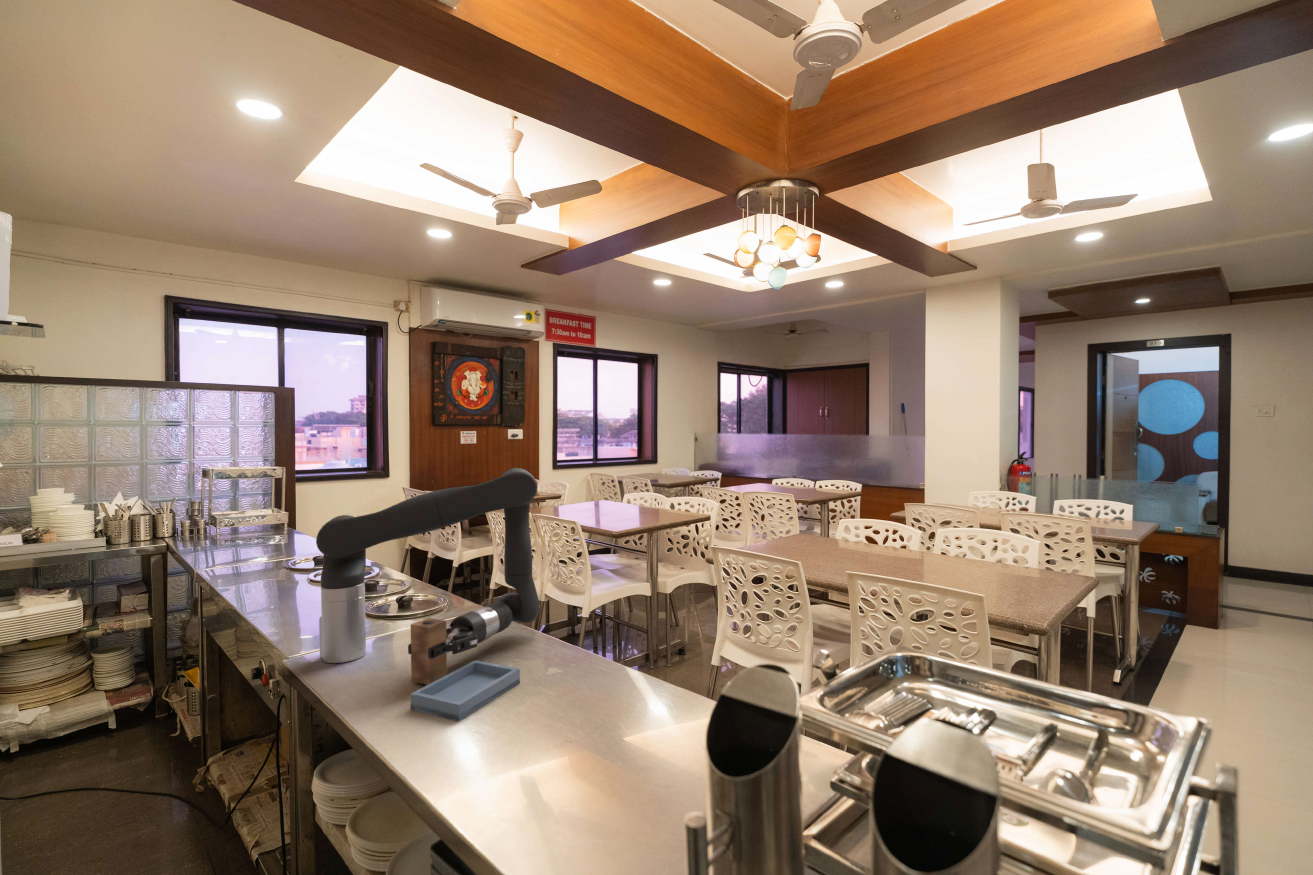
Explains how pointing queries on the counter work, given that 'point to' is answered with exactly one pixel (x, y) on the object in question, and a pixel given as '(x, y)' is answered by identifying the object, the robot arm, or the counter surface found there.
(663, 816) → the counter surface
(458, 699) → the slate tray
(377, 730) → the counter surface
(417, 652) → the walnut block
